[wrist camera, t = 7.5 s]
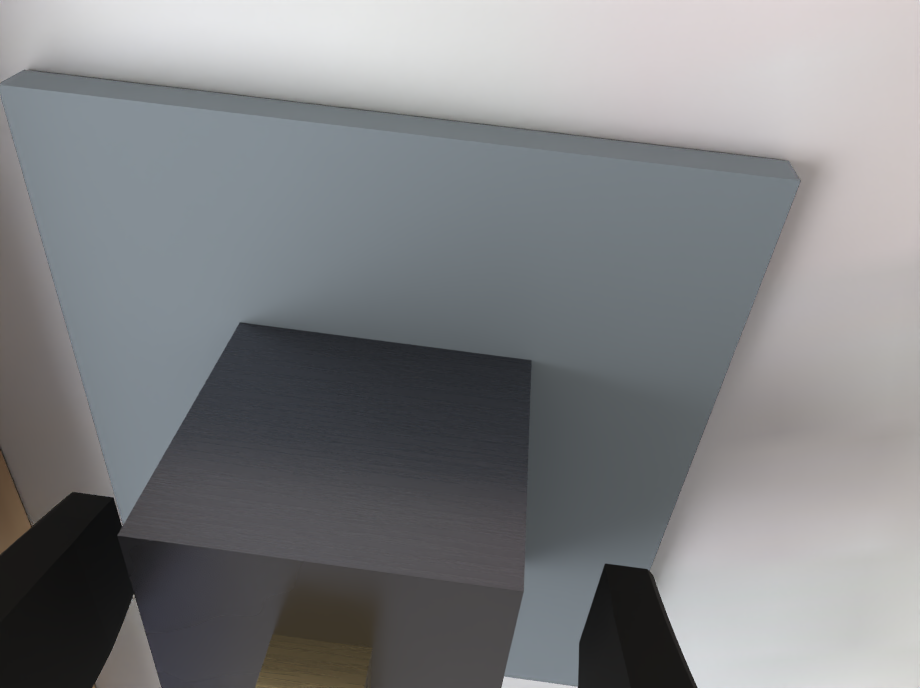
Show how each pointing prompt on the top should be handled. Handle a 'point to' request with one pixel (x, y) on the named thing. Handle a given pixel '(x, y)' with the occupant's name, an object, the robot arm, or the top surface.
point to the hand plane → (10, 511)
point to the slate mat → (409, 285)
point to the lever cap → (337, 518)
